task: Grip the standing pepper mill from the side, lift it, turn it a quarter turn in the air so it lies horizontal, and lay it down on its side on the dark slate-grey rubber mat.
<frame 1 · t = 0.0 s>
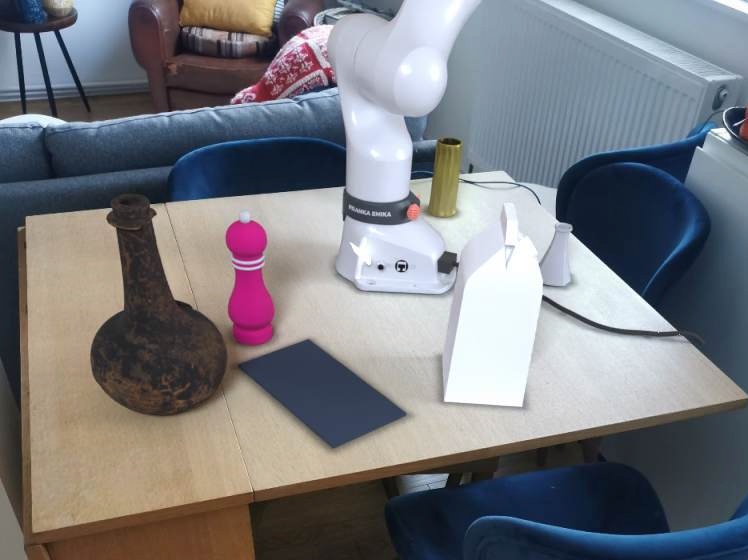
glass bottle: (166, 397, 108), on the table
pepper mill: (253, 336, 121), on the table
flask: (551, 279, 142), on the table
mat: (319, 390, 111), on the table
milk: (480, 382, 116), on the table
vase: (441, 212, 161), on the table
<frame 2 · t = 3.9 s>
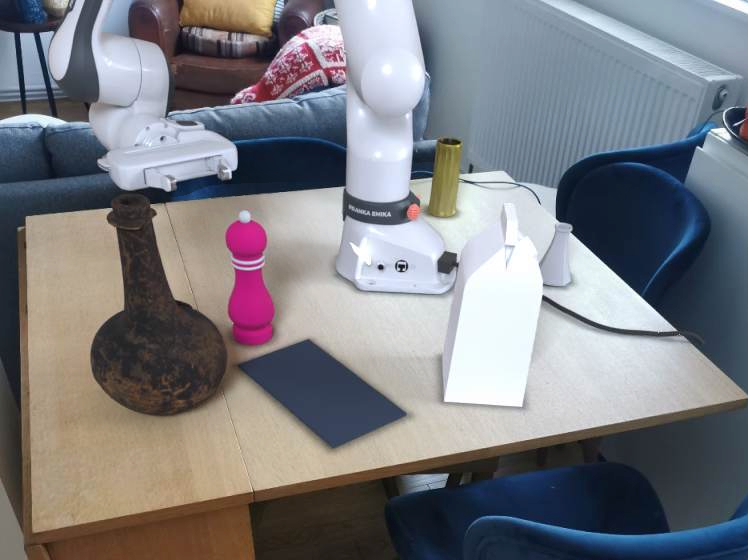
hand: (200, 180, 113), 20 cm above the table, tool horizontal, fingers open, 8 cm apart
nothing on the table moved.
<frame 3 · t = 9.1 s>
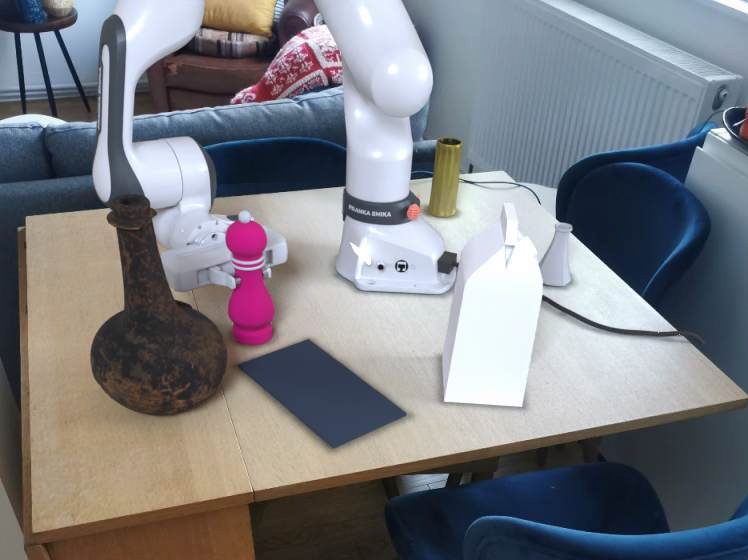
hand: (252, 279, 114), 10 cm above the table, tool horizontal, fingers closed on pepper mill, 4 cm apart
pepper mill: (253, 336, 121), on the table, touching gripper
everything else where it was.
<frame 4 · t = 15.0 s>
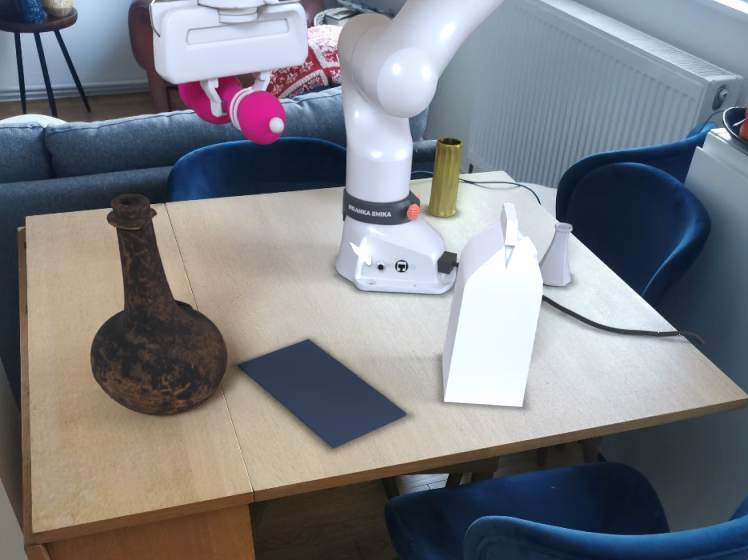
hand: (238, 111, 98), 33 cm above the table, tool pointing down, fingers closed on pepper mill, 4 cm apart
pepper mill: (197, 85, 103), point 34 cm above the table, touching gripper
everything else where it was.
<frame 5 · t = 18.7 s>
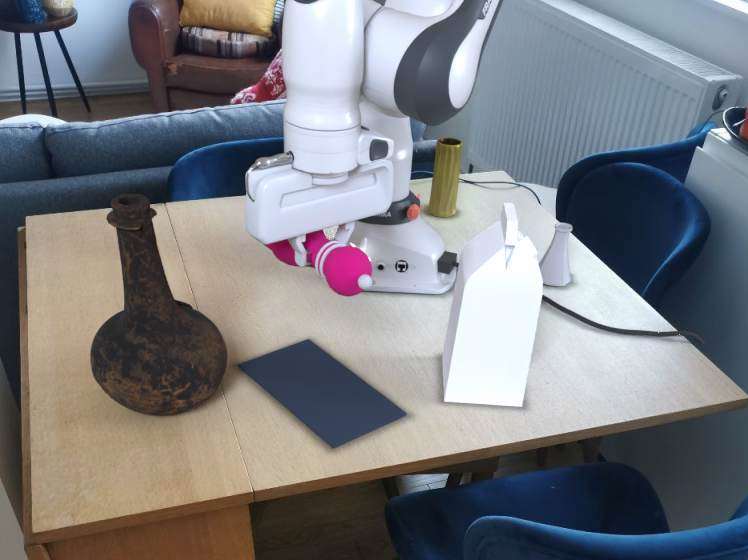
hand: (321, 259, 97), 20 cm above the table, tool pointing down, fingers closed on pepper mill, 4 cm apart
pepper mill: (275, 224, 102), point 21 cm above the table, touching gripper
everything else where it was.
when the fingers open (3 cm above the table, at t = 22.3 s): pepper mill stays where it is, resting on mat.
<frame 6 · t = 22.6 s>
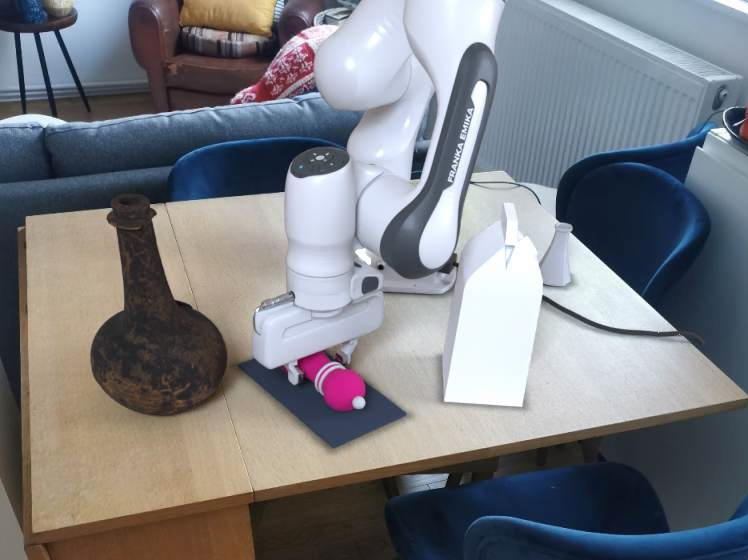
hand: (319, 372, 109), 3 cm above the table, tool pointing down, fingers open, 7 cm apart
pepper mill: (279, 335, 113), point 4 cm above the table, touching mat
everything else where it was.
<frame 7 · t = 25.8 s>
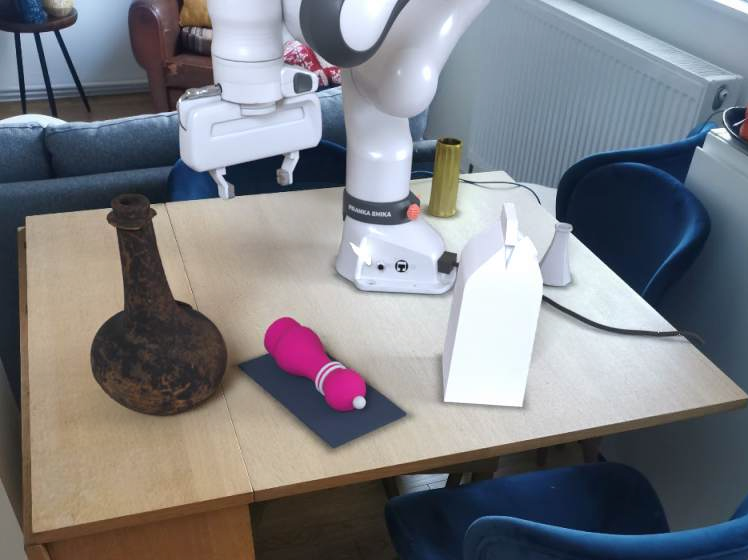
hand: (256, 190, 105), 23 cm above the table, tool pointing down, fingers open, 8 cm apart
nothing on the table moved.
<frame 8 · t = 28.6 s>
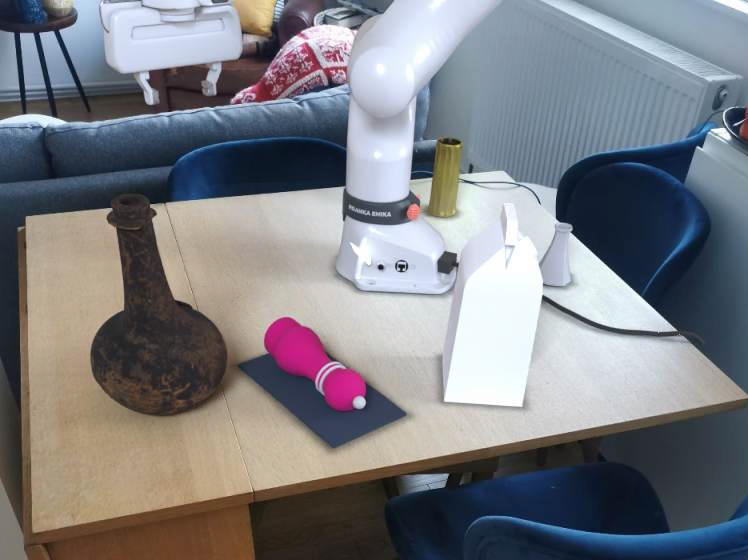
hand: (181, 99, 113), 29 cm above the table, tool pointing down, fingers open, 8 cm apart
nothing on the table moved.
at the end: pepper mill tilted 93°; pepper mill touching mat; the gripper is holding nothing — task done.
